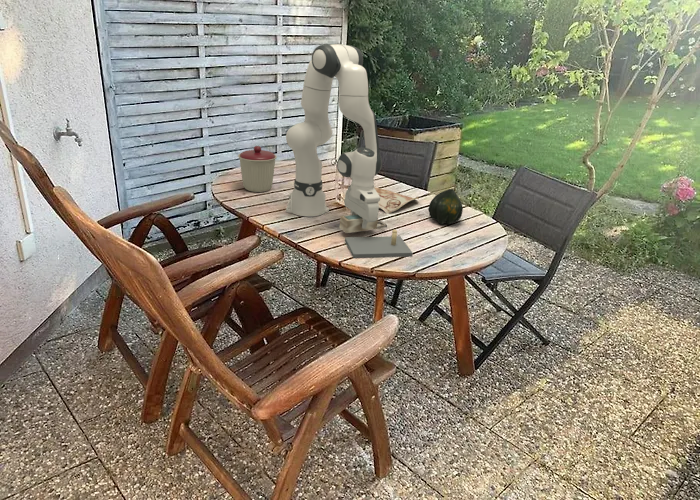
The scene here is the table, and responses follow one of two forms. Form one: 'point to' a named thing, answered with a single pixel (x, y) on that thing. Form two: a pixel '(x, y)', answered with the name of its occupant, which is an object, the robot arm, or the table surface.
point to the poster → (391, 200)
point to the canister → (257, 169)
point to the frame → (358, 224)
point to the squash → (446, 207)
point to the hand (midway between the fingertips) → (358, 224)
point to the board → (378, 246)
